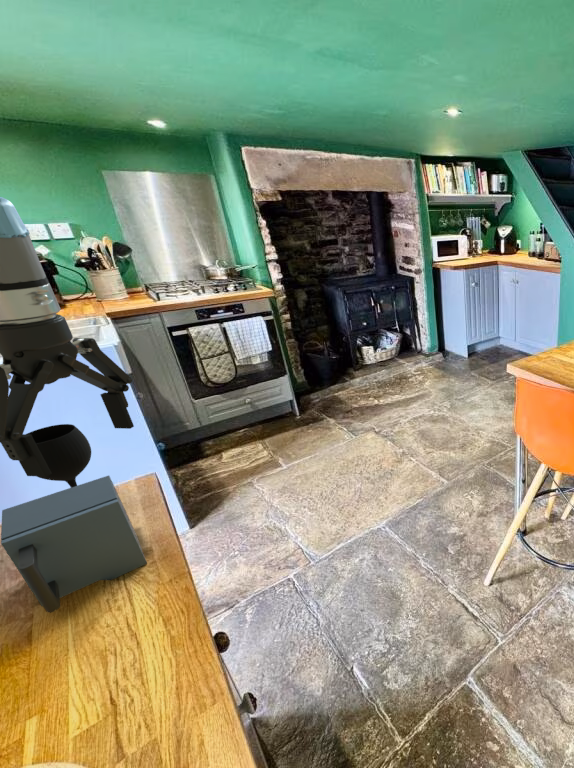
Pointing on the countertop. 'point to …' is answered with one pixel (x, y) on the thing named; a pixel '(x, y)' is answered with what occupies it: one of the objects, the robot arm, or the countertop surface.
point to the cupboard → (59, 507)
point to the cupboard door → (75, 552)
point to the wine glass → (63, 451)
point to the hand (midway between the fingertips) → (86, 449)
